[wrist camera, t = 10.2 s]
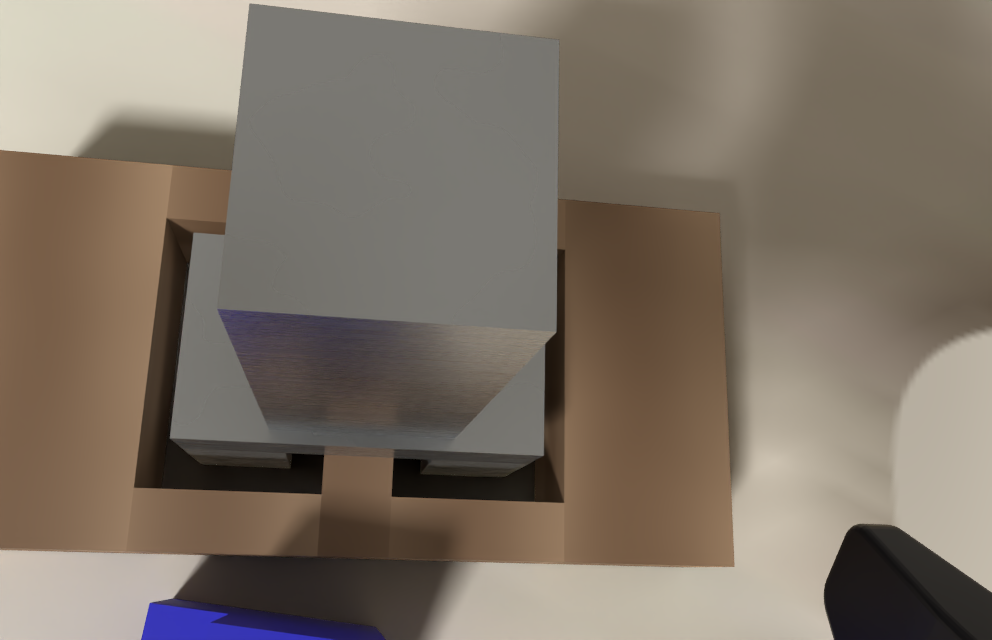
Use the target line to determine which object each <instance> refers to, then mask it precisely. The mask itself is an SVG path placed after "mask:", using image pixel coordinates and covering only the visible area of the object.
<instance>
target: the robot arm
mask: <svg viewBox="0 0 992 640" xmlns="http://www.w3.org/2000/svg"><path fill="white" fill-rule="evenodd" d="M824 604H825V610H826V613H827V617H828V620H829V624H830V628H831V631H832V635H833V638H834V640H992V592H990V591H989V590H987V589H986V588H984V587H983V586H981V585H980V584H978V583H977V582H976V581H974V580H973V579H971V578H970V577H968V576H967V575H965V574H964V573H963V572H961V571H960V570H958V569H957V568H956V567H954V566H953V565H951V564H950V563H948V562H947V561H945V560H944V559H942V558H941V557H940V556H938V555H937V554H935V553H934V552H933V551H931V550H930V549H928V548H927V547H925V546H924V545H923V544H921V543H920V542H918V541H917V540H915V539H914V538H912V537H911V536H910V535H908V534H907V533H905V532H904V531H902V530H901V529H899V528H898V527H895V526H892V525H882V524H857V525H854V526H853V527H851V528H850V529H849V530H848V532H847V533H846V535H845V538H844V540H843V542H842V545H841V547H840V549H839V552H838V554H837V556H836V559H835V561H834V564H833V566H832V568H831V571H830V573H829V575H828V578H827V580H826V583H825V588H824Z"/></svg>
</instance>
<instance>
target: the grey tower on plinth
mask: <svg viewBox="0 0 992 640" xmlns="http://www.w3.org/2000/svg"><path fill="white" fill-rule="evenodd" d="M558 109H559V40H556V39H547V38H539V37H530V36H522V35H513V34H505V33H496V32H488V31H479V30H471V29H462V28H454V27H445V26H437V25H428V24H420V23H411V22H403V21H394V20H386V19H378V18H369V17H361V16H352V15H344V14H335V13H327V12H318V11H310V10H301V9H293V8H284V7H276V6H267V5H259V4H249V14H248V23H247V32H246V42H245V51H244V60H243V70H242V79H241V88H240V98H239V107H238V116H237V126H236V135H235V144H234V154H233V163H232V172H231V182H230V191H229V200H228V210H227V219H226V228H225V235H218V234H205V233H194V234H193V243H192V251H191V260H190V268H189V277H188V286H187V294H186V303H185V311H184V320H183V328H182V337H181V346H180V354H179V363H178V371H177V380H176V389H175V397H174V406H173V414H172V423H171V432H170V439H171V440H172V441H174V442H175V443H176V444H177V445H179V446H180V447H181V448H182V449H183V450H185V451H186V452H187V453H188V454H189V455H191V456H192V457H193V458H194V459H195V460H197V461H198V462H199V463H200V464H201V465H223V466H246V467H270V468H291V460H292V453H295V454H317V455H339V456H361V457H383V458H405V459H421V462H420V474H433V475H456V476H479V477H502V478H503V477H505V476H507V475H509V474H511V473H513V472H514V471H516V470H518V469H520V468H522V467H524V466H526V465H527V464H529V463H531V462H533V461H535V460H537V459H539V458H541V457H542V456H544V393H545V343H546V342H547V341H548V340H549V339H550V338H551V337H552V336H553V335H554V334H555V333H556V329H557V219H558Z"/></svg>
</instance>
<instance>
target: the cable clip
mask: <svg viewBox="0 0 992 640" xmlns="http://www.w3.org/2000/svg"><path fill="white" fill-rule="evenodd" d="M141 640H386V639H385V638H384V637H383V636H382V634H381V633H380V632H379V631H378V629H377V628H376V627H372V626H365V625H358V624H351V623H344V622H337V621H329V620H322V619H315V618H308V617H301V616H294V615H287V614H280V613H272V612H265V611H258V610H251V609H244V608H237V607H230V606H223V605H215V604H208V603H201V602H194V601H187V600H180V599H168V600H163V601H158V602H152V603H150V604H149V609H148V613H147V617H146V622H145V626H144V630H143V634H142V639H141Z"/></svg>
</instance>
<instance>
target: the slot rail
mask: <svg viewBox="0 0 992 640" xmlns="http://www.w3.org/2000/svg"><path fill="white" fill-rule="evenodd" d="M231 172H232V170H221V169H210V168H198V167H187V166H176V165H164V164H153V163H141V162H130V161H119V160H107V159H96V158H84V157H73V156H62V155H50V154H39V153H27V152H16V151H5V150H0V550H25V551H64V552H104V553H143V554H183V555H222V556H262V557H302V558H341V559H381V560H420V561H460V562H499V563H539V564H579V565H618V566H658V567H734V546H733V522H732V498H731V475H730V451H729V427H728V403H727V380H726V356H725V332H724V309H723V285H722V261H721V237H720V214H719V213H712V212H700V211H689V210H678V209H666V208H655V207H643V206H632V205H620V204H609V203H598V202H586V201H575V200H563V199H558V219H557V329H556V333H555V334H554V335H553V336H552V337H551V338H550V339H549V340H548V341H547V342H546V343H545V393H544V456H542V457H541V458H539V459H537V460H535V502H522V501H494V500H466V499H438V498H410V497H392V477H393V458H383V457H361V456H339V455H324V466H323V480H322V494H298V493H270V492H242V491H214V490H186V489H161V487H162V478H163V470H164V461H165V452H166V443H167V434H168V426H169V417H170V408H171V399H172V391H173V382H174V373H175V364H176V355H177V347H178V338H179V329H180V320H181V311H182V303H183V294H184V285H185V276H186V268H187V262H188V263H190V260H191V251H192V243H193V234H194V233H205V234H218V235H225V228H226V219H227V210H228V200H229V191H230V182H231Z"/></svg>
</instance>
